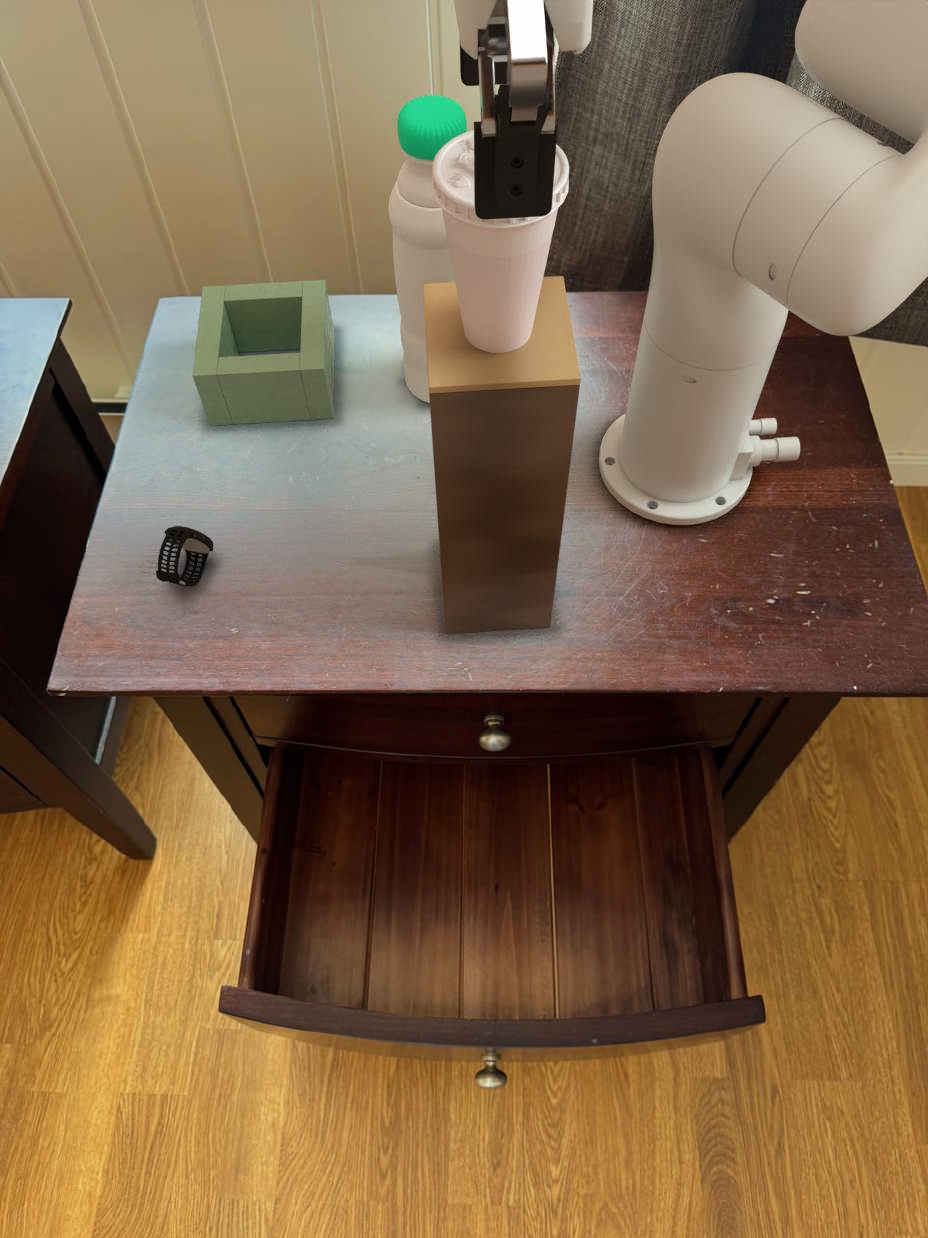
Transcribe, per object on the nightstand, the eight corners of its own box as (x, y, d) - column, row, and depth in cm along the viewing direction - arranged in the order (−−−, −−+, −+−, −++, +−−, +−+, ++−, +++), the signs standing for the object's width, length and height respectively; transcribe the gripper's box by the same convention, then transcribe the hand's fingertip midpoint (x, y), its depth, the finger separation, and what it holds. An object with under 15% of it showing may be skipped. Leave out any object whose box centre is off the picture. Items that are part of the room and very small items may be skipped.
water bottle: (481, 350, 87) (481, 77, 66) (485, 407, 84) (486, 139, 62) (404, 353, 87) (379, 81, 66) (405, 410, 84) (378, 143, 62)
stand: (334, 331, 89) (325, 279, 84) (333, 418, 83) (324, 368, 78) (218, 338, 89) (202, 286, 84) (210, 425, 83) (192, 375, 78)
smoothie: (546, 378, 50) (566, 122, 38) (427, 362, 51) (409, 106, 39) (564, 296, 53) (588, 35, 41) (452, 281, 54) (443, 22, 42)
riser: (539, 541, 76) (563, 275, 54) (550, 627, 72) (581, 378, 50) (440, 547, 76) (422, 283, 54) (445, 634, 72) (428, 387, 50)
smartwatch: (229, 565, 76) (214, 528, 71) (184, 611, 74) (165, 575, 69) (192, 541, 77) (174, 503, 73) (146, 585, 75) (125, 548, 70)
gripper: (696, -303, 24) (614, 268, 38) (600, -489, 32) (564, 34, 47) (393, -289, 23) (427, 279, 38) (380, -480, 32) (412, 42, 47)
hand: (503, 143), depth 43 cm, fingers open, 9 cm apart
